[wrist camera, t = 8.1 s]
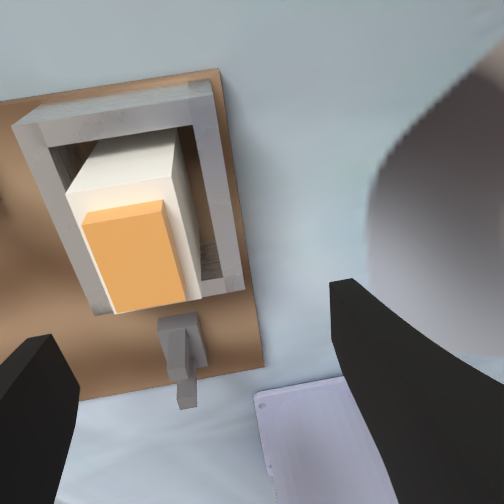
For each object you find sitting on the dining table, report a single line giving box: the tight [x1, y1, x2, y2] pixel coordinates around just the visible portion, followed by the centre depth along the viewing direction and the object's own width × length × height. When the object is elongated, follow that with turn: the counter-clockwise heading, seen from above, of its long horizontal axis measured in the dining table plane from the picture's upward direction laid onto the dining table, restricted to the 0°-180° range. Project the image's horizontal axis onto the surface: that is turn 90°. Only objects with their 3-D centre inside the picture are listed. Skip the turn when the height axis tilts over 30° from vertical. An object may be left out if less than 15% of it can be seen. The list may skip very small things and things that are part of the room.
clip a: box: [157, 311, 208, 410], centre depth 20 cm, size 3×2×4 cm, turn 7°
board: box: [0, 68, 265, 401], centre depth 20 cm, size 16×14×1 cm
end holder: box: [11, 78, 245, 316], centre depth 16 cm, size 8×6×3 cm
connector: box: [65, 127, 202, 314], centre depth 15 cm, size 4×3×6 cm, turn 8°
